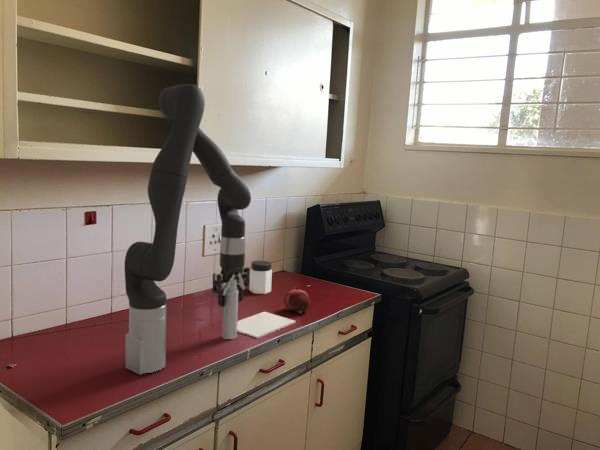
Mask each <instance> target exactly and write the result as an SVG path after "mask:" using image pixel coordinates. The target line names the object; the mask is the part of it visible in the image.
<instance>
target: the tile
mask: <svg viewBox="0 0 600 450" xmlns="http://www.w3.org/2000/svg"><path fill="white" fill-rule="evenodd" d="M295 323H297V321H296V320H294V319H291V318H287V317H284V316H281V315H277V314H274V313H271V312H267V311H262V312H259V313H256V314H253V315H252V316H248V317H245V318H242V319H240V320H237V333H240V334H243V335H245V334H247V335H246V336H248V335H249V337H251V336H252V338H254V337H255V339H257V338H258V339H260V338H262V336H263V337H265V336H268V335H269V333H270V334H271V333H272V334H273V333H274V332H276V330H277V331H279V330H281V328H282V329H283V328H286V327H288V326H291V325H293V324H295ZM259 337H260V338H259Z"/></svg>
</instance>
